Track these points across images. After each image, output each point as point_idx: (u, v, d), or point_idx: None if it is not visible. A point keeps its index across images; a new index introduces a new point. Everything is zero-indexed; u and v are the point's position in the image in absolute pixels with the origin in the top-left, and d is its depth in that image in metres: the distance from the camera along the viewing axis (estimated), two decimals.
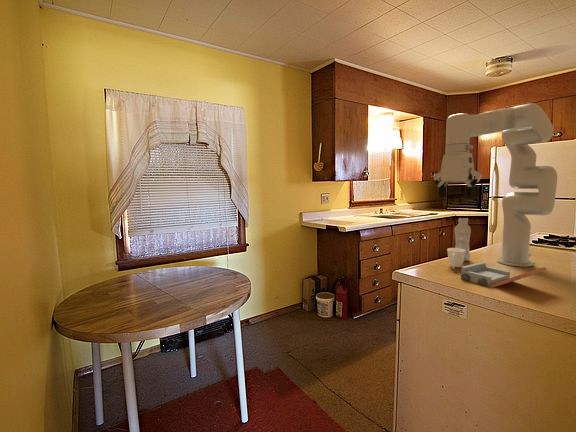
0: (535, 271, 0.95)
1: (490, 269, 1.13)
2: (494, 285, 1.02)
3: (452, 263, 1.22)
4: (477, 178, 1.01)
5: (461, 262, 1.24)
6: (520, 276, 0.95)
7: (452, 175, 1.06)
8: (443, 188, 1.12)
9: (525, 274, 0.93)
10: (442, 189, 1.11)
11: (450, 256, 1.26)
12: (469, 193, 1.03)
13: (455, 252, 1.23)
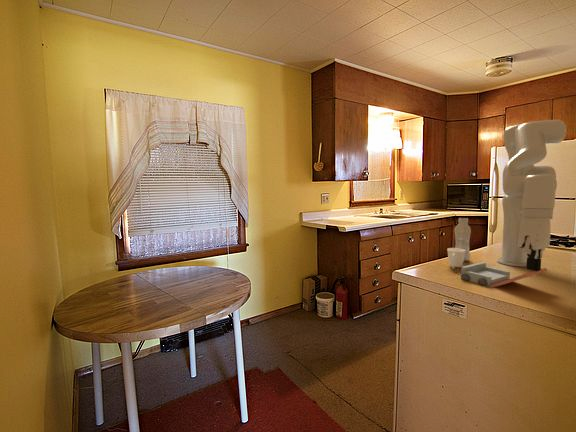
0: (536, 272, 0.95)
1: (490, 269, 1.13)
2: (494, 285, 1.02)
3: (452, 263, 1.22)
4: None
5: (461, 262, 1.24)
6: (520, 277, 0.95)
7: (544, 242, 0.93)
8: None
9: (526, 275, 0.93)
10: None
11: (450, 256, 1.26)
12: None
13: (455, 252, 1.23)
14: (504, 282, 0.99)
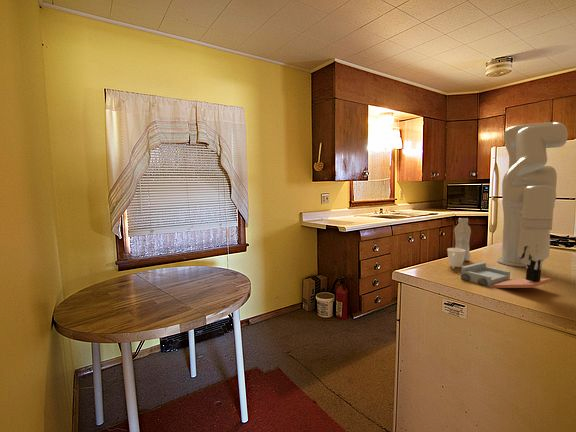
0: (541, 283, 0.94)
1: (490, 269, 1.13)
2: (494, 286, 1.02)
3: (452, 263, 1.22)
4: (541, 261, 0.97)
5: (461, 262, 1.24)
6: (524, 286, 0.94)
7: (543, 253, 0.93)
8: None
9: (530, 285, 0.92)
10: None
11: (450, 256, 1.26)
12: None
13: (455, 252, 1.23)
14: (506, 286, 0.99)
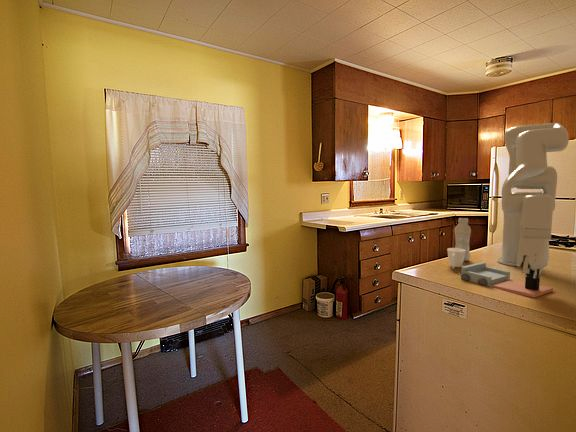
0: (542, 293, 0.94)
1: (490, 269, 1.13)
2: (495, 287, 1.02)
3: (452, 263, 1.22)
4: (540, 269, 0.97)
5: (461, 262, 1.24)
6: (526, 294, 0.94)
7: (542, 261, 0.94)
8: None
9: (532, 295, 0.92)
10: None
11: (450, 256, 1.26)
12: None
13: (455, 252, 1.23)
14: (506, 290, 0.98)
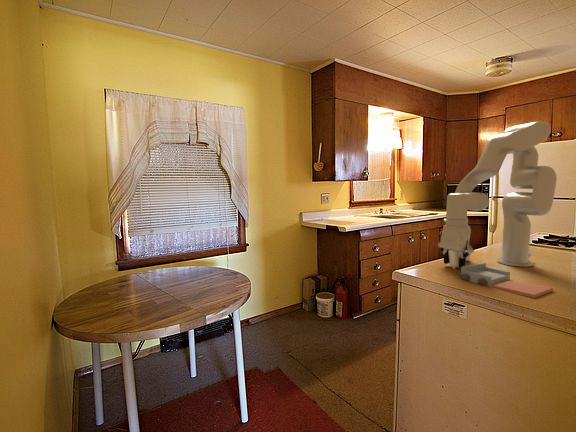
0: (542, 293, 0.94)
1: (490, 269, 1.13)
2: (495, 287, 1.02)
3: (453, 263, 1.21)
4: None
5: None
6: (526, 294, 0.94)
7: None
8: None
9: (532, 295, 0.92)
10: None
11: (451, 256, 1.25)
12: None
13: (456, 252, 1.23)
14: (506, 290, 0.98)
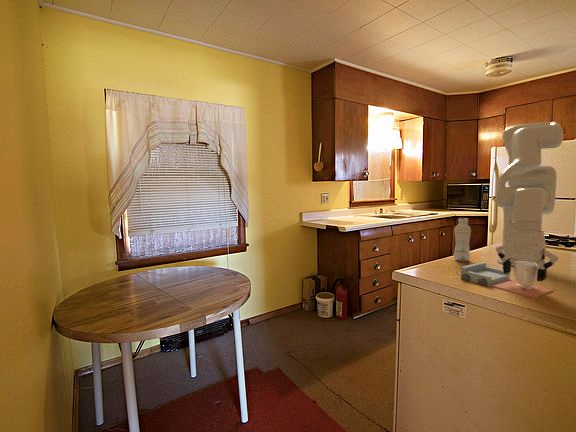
0: None
1: (490, 269, 1.13)
2: None
3: (525, 282, 0.95)
4: None
5: (534, 280, 0.98)
6: None
7: None
8: None
9: (532, 297, 0.92)
10: None
11: (519, 272, 0.99)
12: None
13: (527, 267, 0.97)
14: (506, 290, 0.98)
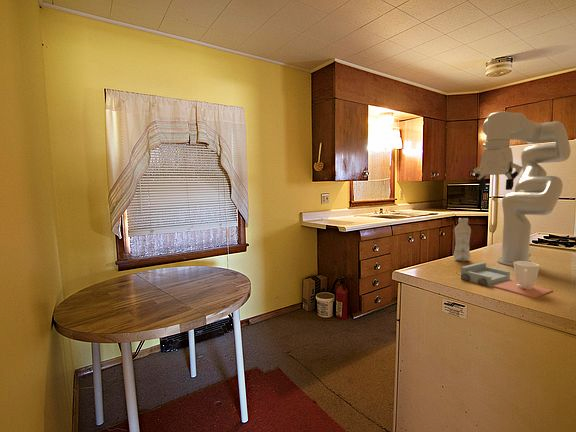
0: None
1: (490, 269, 1.13)
2: None
3: (525, 282, 0.95)
4: None
5: (534, 280, 0.98)
6: None
7: None
8: None
9: (532, 297, 0.92)
10: None
11: (519, 272, 0.99)
12: None
13: (527, 267, 0.97)
14: (506, 290, 0.98)
